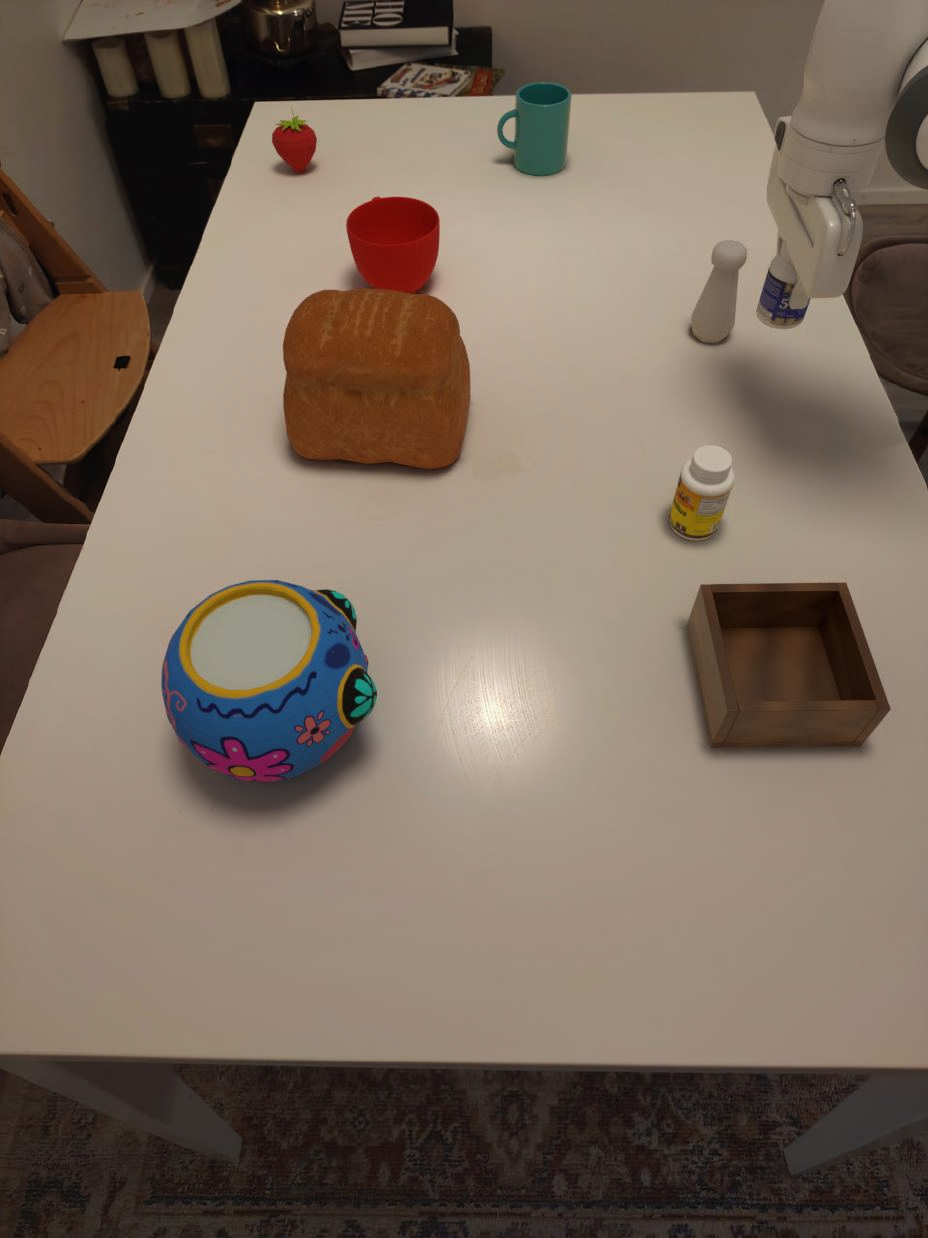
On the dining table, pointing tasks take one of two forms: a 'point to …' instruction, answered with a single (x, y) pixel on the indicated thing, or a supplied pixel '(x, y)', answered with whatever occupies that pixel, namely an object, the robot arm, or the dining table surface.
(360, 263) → the ceramic cup
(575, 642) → the dining table surface
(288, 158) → the strawberry
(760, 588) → the box
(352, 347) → the bread
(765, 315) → the pill bottle
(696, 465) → the supplement bottle
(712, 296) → the salt shaker
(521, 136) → the cup
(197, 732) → the ceramic pot
